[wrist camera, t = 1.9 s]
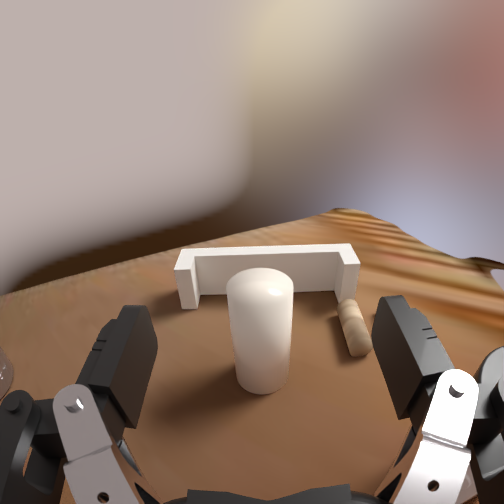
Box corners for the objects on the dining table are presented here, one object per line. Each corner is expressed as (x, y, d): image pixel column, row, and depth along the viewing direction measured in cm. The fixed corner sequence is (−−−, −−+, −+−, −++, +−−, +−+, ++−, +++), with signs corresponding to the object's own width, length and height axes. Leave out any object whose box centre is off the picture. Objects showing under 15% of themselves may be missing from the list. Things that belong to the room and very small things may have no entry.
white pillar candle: (235, 394, 28) (223, 308, 22) (237, 355, 32) (228, 268, 27) (290, 393, 27) (297, 305, 22) (286, 354, 32) (290, 266, 27)
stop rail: (182, 309, 39) (173, 269, 36) (188, 286, 43) (182, 249, 40) (353, 303, 39) (360, 263, 36) (344, 281, 43) (349, 243, 40)
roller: (353, 360, 31) (346, 346, 30) (340, 318, 37) (333, 304, 36) (375, 350, 31) (369, 336, 29) (359, 309, 37) (353, 295, 36)
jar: (388, 474, 19) (451, 396, 13) (439, 416, 22) (496, 324, 16) (457, 527, 12) (555, 468, 6) (501, 460, 16) (579, 378, 10)
